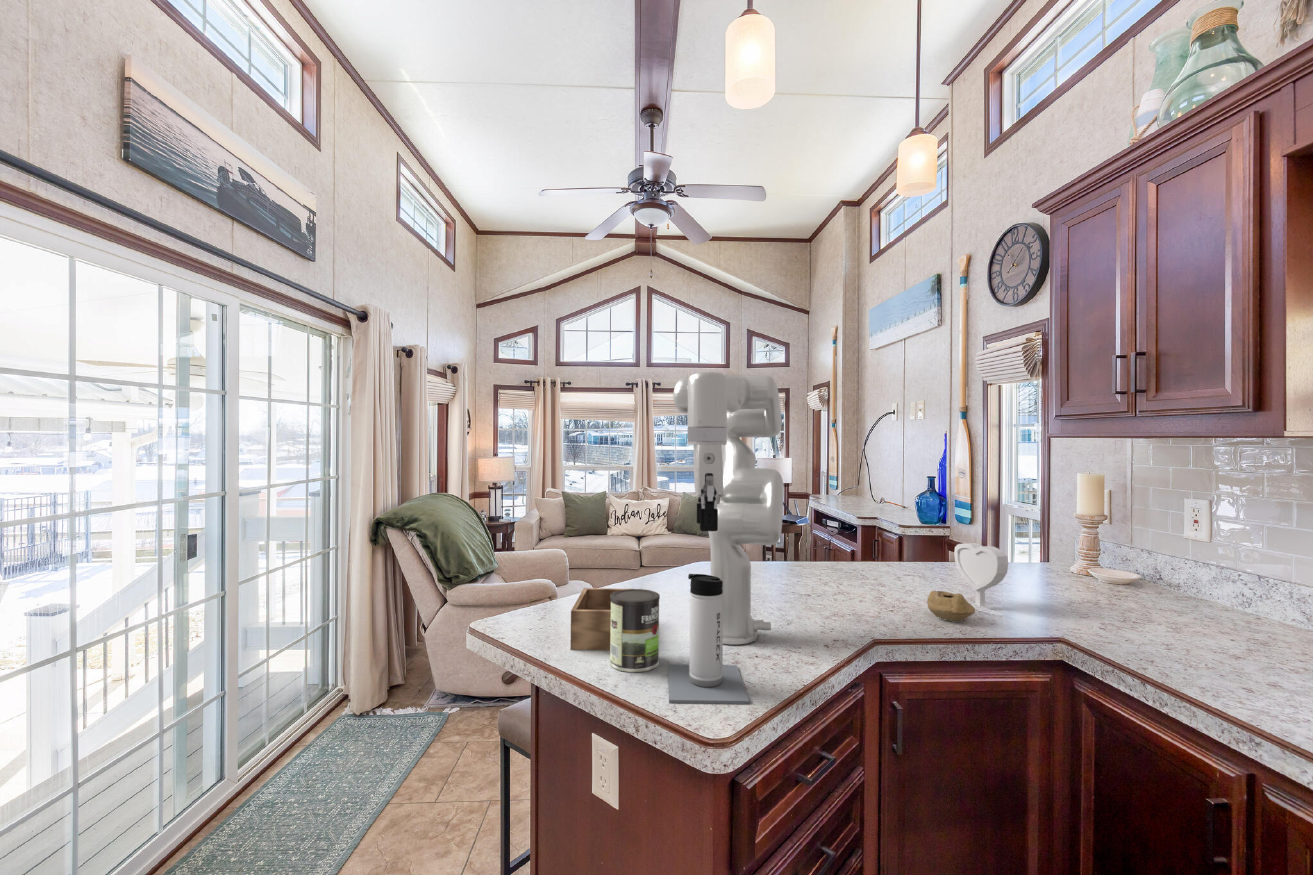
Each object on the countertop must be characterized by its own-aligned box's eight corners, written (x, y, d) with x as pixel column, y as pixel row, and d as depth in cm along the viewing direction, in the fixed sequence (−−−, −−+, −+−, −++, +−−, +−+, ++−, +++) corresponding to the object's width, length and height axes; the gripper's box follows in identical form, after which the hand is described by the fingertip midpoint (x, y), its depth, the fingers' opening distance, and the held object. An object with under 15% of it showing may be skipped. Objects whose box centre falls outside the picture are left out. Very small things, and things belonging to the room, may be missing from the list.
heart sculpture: (952, 601, 163) (951, 540, 164) (966, 600, 165) (966, 540, 165) (995, 617, 148) (995, 550, 149) (1010, 616, 150) (1010, 549, 150)
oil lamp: (944, 608, 156) (944, 580, 156) (986, 625, 142) (986, 594, 142) (910, 610, 154) (910, 582, 154) (949, 628, 139) (949, 596, 139)
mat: (736, 667, 112) (736, 665, 112) (749, 703, 96) (749, 700, 96) (668, 666, 113) (668, 664, 113) (669, 702, 97) (669, 699, 97)
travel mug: (685, 674, 108) (686, 571, 108) (719, 673, 108) (719, 571, 109) (689, 688, 101) (690, 578, 102) (725, 687, 102) (725, 578, 102)
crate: (634, 622, 142) (634, 588, 142) (629, 650, 122) (629, 611, 122) (583, 621, 142) (583, 588, 142) (570, 649, 122) (570, 610, 122)
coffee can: (668, 660, 116) (668, 592, 117) (641, 676, 108) (641, 604, 108) (628, 650, 122) (628, 586, 122) (599, 665, 113) (600, 596, 113)
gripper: (732, 436, 97) (732, 534, 97) (721, 438, 114) (721, 521, 114) (689, 436, 97) (689, 534, 97) (685, 438, 114) (685, 520, 114)
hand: (706, 526), depth 105 cm, fingers open, 9 cm apart
